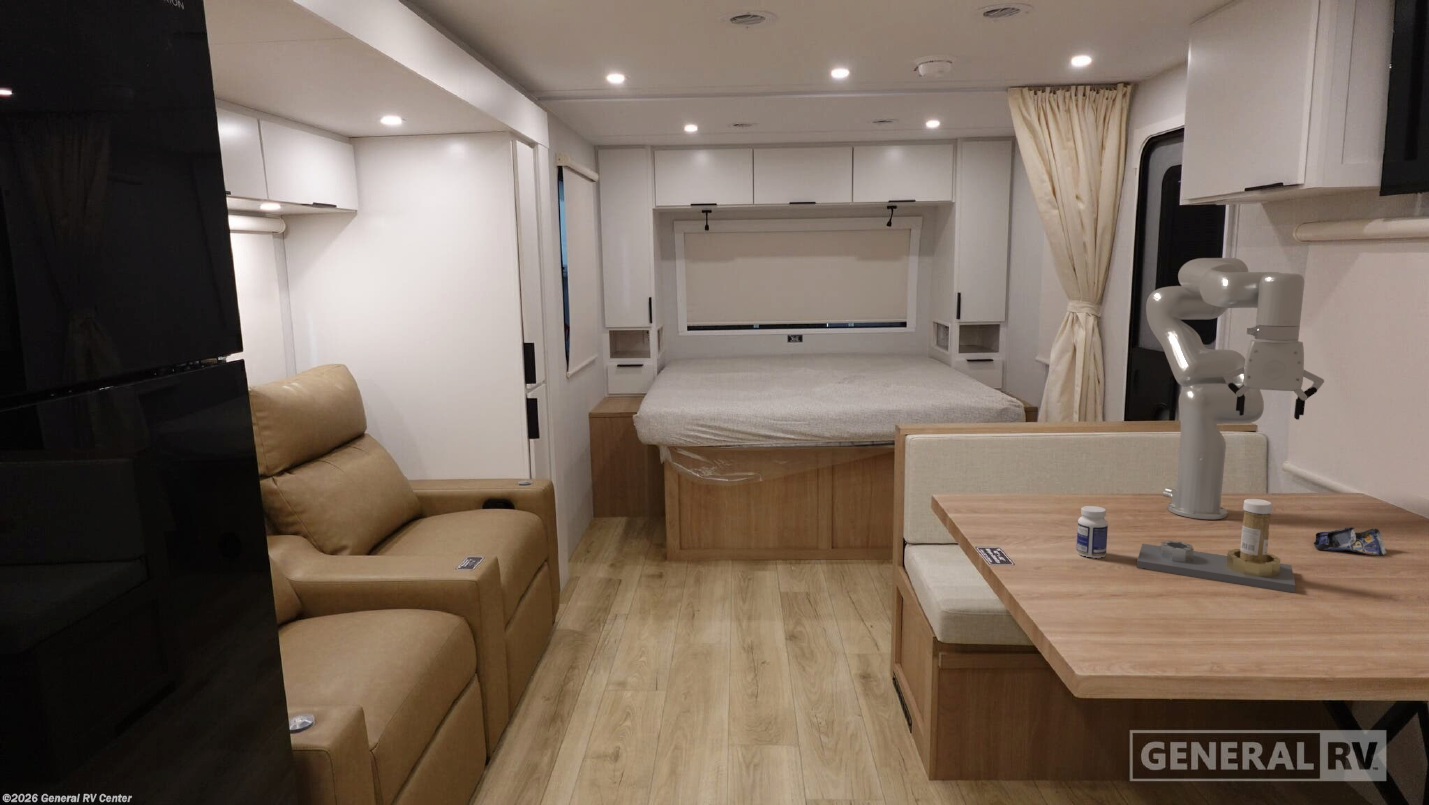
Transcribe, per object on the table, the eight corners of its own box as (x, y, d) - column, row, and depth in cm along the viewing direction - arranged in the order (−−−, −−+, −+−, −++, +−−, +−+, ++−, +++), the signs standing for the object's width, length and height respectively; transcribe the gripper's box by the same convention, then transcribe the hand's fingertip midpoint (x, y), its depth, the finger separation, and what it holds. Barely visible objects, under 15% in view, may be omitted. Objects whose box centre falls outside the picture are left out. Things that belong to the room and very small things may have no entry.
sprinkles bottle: (1271, 572, 158) (1278, 503, 156) (1250, 573, 158) (1256, 505, 156) (1253, 563, 163) (1259, 497, 161) (1232, 565, 162) (1238, 498, 160)
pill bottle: (1106, 552, 175) (1109, 506, 173) (1106, 560, 170) (1109, 514, 168) (1076, 548, 177) (1079, 503, 176) (1075, 557, 172) (1078, 510, 170)
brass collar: (1216, 565, 162) (1217, 553, 162) (1245, 558, 166) (1246, 546, 165) (1260, 579, 155) (1261, 567, 154) (1289, 572, 158) (1290, 560, 158)
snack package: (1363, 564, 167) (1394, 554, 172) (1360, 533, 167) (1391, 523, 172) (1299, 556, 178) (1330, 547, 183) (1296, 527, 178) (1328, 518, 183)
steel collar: (1154, 555, 168) (1155, 543, 168) (1172, 551, 171) (1173, 539, 170) (1179, 563, 163) (1180, 551, 163) (1198, 559, 166) (1199, 547, 165)
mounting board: (1136, 567, 166) (1137, 560, 165) (1142, 550, 176) (1142, 543, 175) (1294, 593, 152) (1295, 585, 152) (1290, 572, 162) (1291, 565, 162)
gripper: (1227, 334, 171) (1219, 416, 174) (1330, 337, 162) (1321, 423, 165) (1227, 331, 177) (1220, 410, 180) (1326, 334, 168) (1318, 417, 171)
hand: (1268, 416), depth 172 cm, fingers open, 9 cm apart
